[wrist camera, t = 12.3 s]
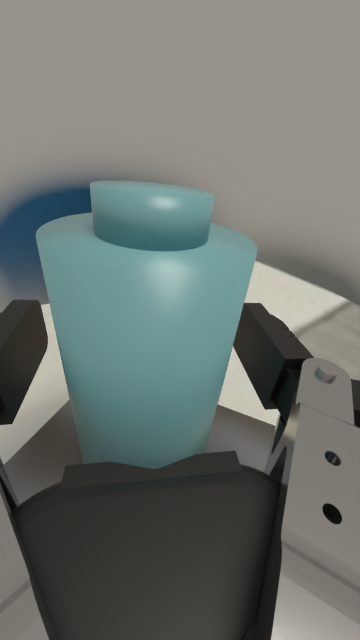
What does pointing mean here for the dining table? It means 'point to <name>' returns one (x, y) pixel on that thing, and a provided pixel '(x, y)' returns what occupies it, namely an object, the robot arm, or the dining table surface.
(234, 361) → the dining table surface
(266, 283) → the dining table surface
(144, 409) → the teal bottle
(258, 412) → the dining table surface
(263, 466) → the tower base
